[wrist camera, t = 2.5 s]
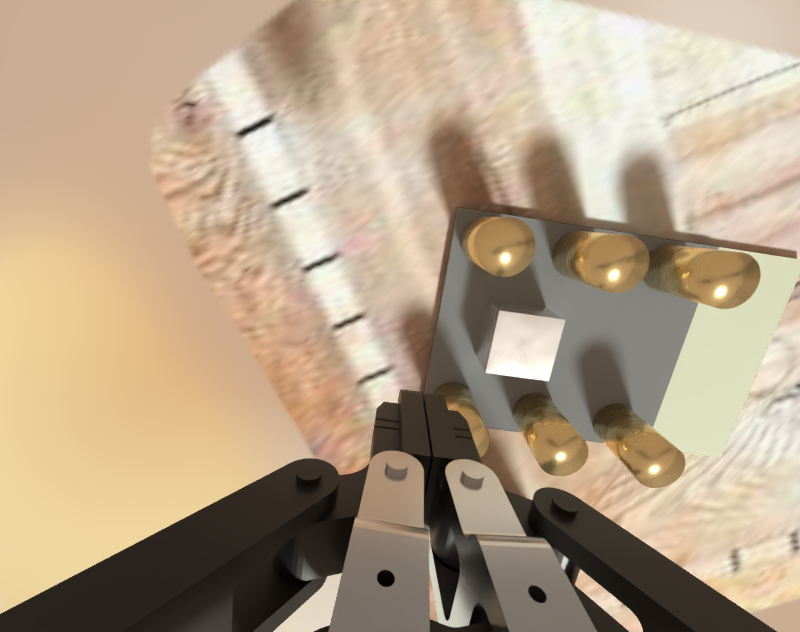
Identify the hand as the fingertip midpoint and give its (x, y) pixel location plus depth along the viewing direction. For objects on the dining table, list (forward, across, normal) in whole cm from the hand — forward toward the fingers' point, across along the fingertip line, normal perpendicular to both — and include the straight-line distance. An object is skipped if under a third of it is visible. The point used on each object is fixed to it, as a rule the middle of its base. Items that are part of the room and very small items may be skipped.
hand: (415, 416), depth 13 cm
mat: (+13, -14, 0) cm, 19 cm away
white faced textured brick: (+13, -7, 0) cm, 15 cm away
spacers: (+13, -10, 0) cm, 17 cm away
